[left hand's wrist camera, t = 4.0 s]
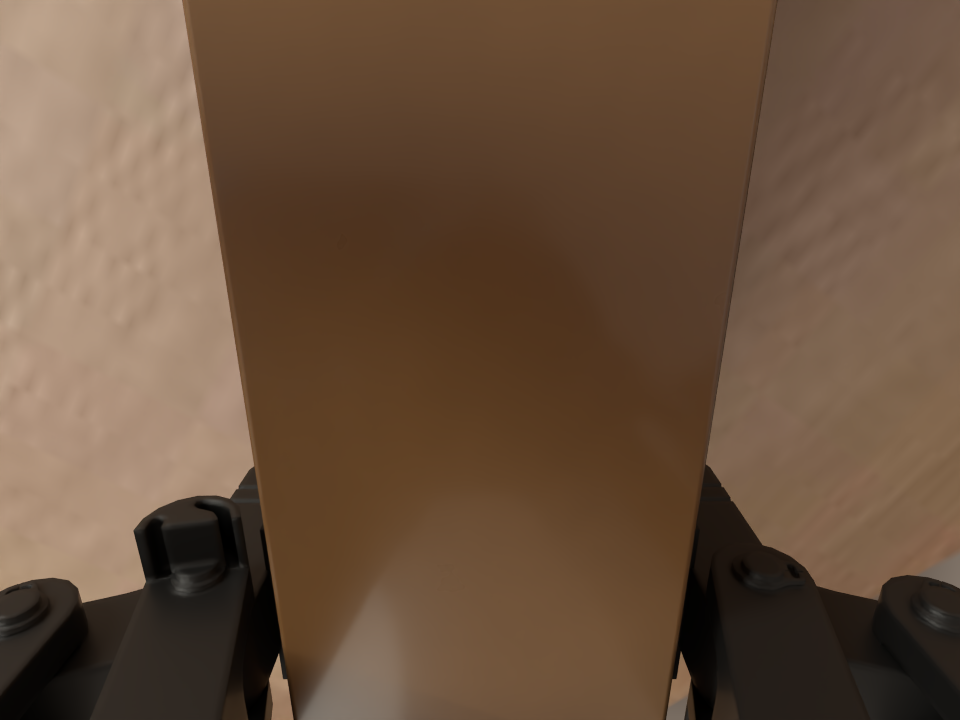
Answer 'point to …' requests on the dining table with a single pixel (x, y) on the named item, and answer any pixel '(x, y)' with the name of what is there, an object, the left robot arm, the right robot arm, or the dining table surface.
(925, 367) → the dining table surface
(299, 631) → the bar
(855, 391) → the dining table surface
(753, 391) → the dining table surface
